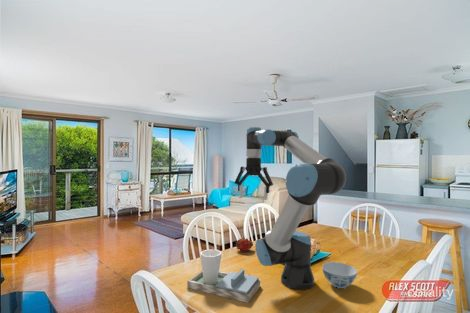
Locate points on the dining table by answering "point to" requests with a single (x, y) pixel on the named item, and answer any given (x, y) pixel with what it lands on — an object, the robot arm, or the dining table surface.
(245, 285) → the lid
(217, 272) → the foam cup
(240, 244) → the dragon fruit
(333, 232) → the dining table surface
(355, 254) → the dining table surface
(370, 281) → the dining table surface
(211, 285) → the grey flat rectangular tray
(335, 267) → the chinaware
